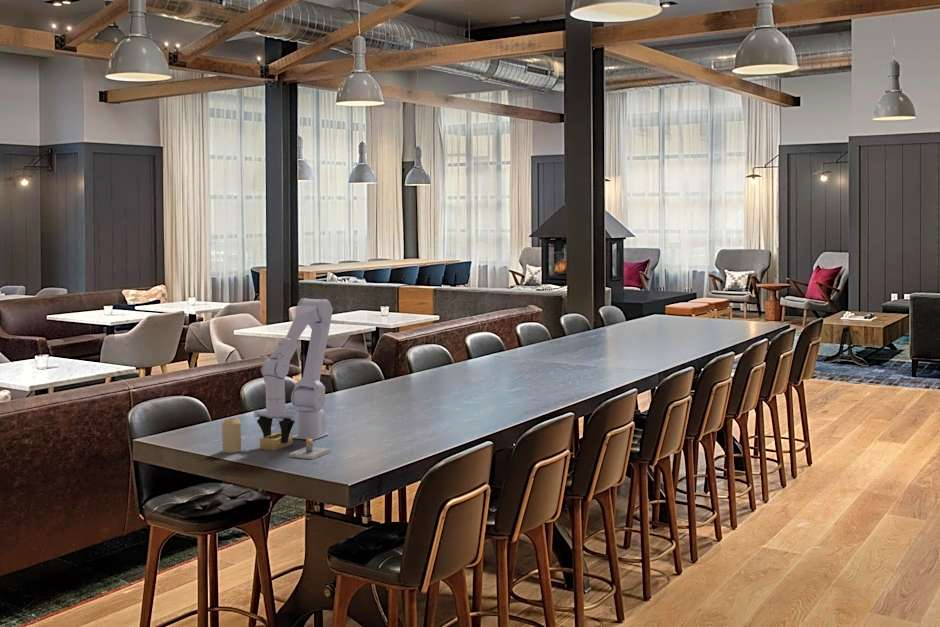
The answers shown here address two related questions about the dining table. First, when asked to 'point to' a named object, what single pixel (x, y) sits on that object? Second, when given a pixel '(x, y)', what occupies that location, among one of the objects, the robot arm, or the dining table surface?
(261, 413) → the robot arm
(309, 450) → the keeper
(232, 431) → the candle
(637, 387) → the dining table surface
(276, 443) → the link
